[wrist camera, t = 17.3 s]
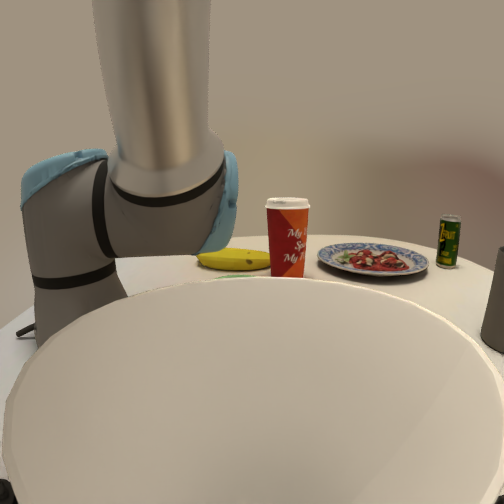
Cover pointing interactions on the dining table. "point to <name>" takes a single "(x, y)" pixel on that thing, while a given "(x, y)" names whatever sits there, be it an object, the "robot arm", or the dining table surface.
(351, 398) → the cup
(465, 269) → the dining table surface
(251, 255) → the banana
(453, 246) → the green soda can
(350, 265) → the ceramic plate
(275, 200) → the coffee cup
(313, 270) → the dining table surface
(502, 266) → the mug
